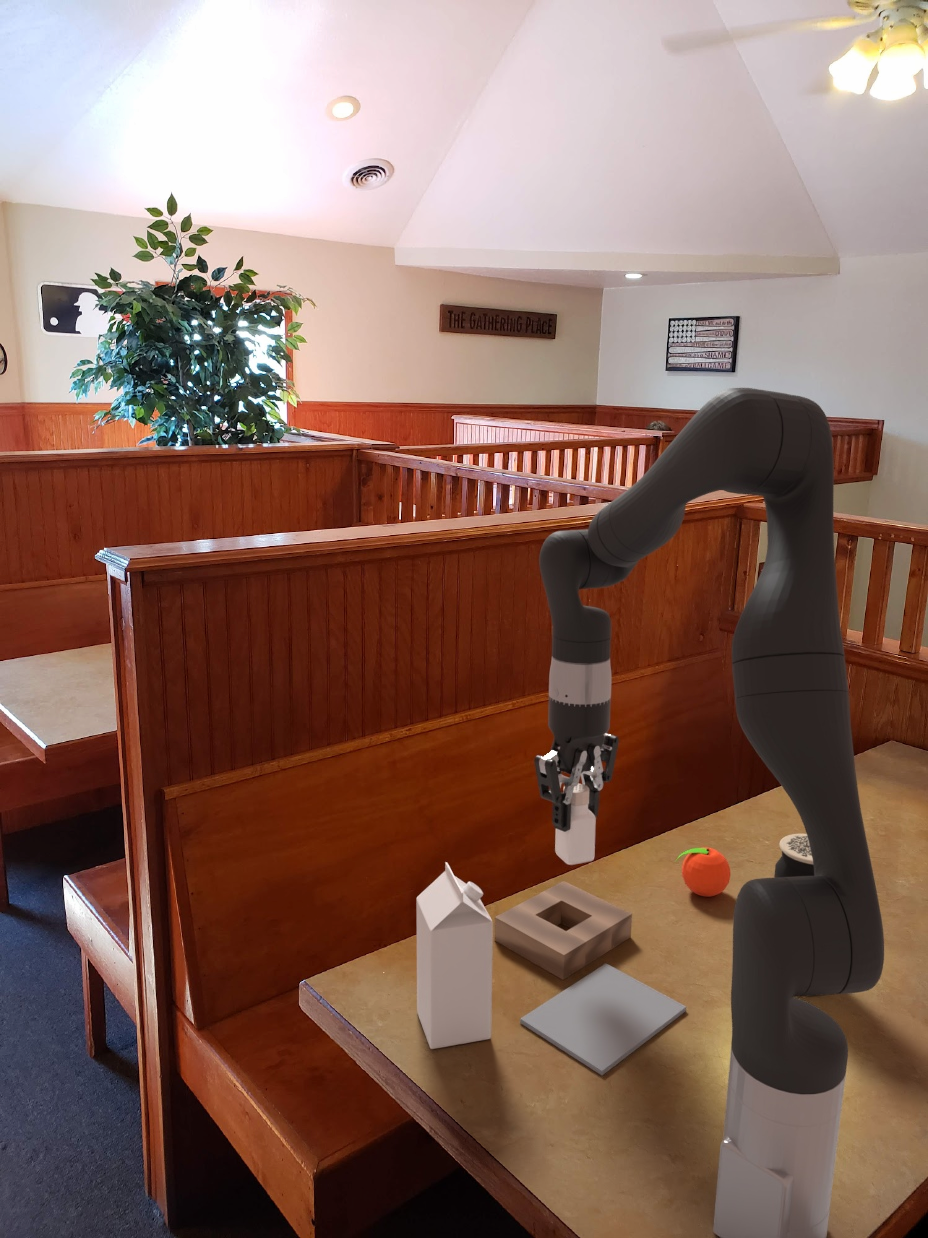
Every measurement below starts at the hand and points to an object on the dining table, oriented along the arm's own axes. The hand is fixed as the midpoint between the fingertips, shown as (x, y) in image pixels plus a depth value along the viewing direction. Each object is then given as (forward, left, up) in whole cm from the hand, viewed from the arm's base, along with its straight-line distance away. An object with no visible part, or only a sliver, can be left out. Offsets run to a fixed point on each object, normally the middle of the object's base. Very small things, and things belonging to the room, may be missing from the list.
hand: (575, 822), depth 120 cm
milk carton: (-21, 0, -19) cm, 28 cm away
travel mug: (+17, -23, -19) cm, 34 cm away
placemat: (-7, -11, -19) cm, 23 cm away
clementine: (+26, -3, -19) cm, 32 cm away
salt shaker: (0, 0, -5) cm, 5 cm away
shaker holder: (+2, +3, -19) cm, 19 cm away
